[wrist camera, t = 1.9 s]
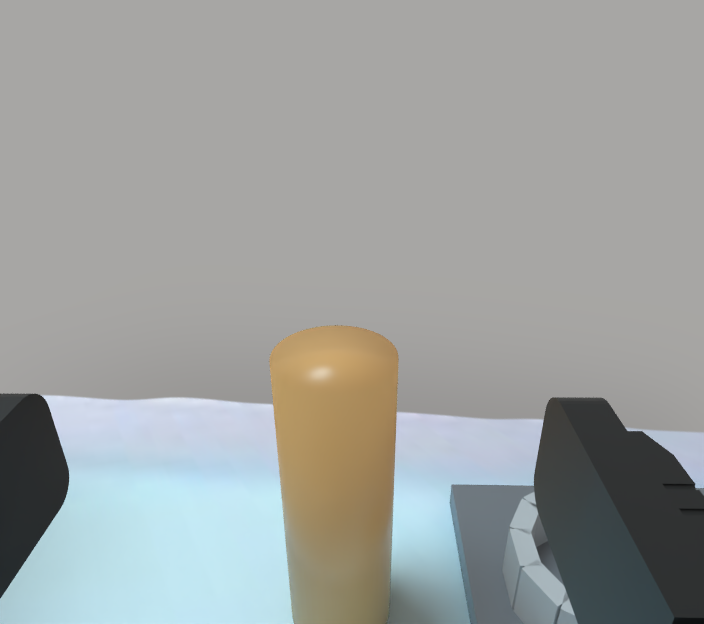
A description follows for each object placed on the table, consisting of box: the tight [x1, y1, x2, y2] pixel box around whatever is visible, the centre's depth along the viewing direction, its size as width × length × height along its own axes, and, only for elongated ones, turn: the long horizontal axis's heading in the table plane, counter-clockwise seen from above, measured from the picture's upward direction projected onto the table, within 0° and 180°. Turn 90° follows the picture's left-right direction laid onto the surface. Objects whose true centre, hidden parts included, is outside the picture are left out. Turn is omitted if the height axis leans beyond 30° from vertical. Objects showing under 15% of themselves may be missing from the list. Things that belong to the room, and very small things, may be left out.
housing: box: [450, 485, 704, 624], centre depth 26 cm, size 20×14×6 cm
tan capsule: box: [270, 325, 398, 624], centre depth 24 cm, size 5×5×15 cm
